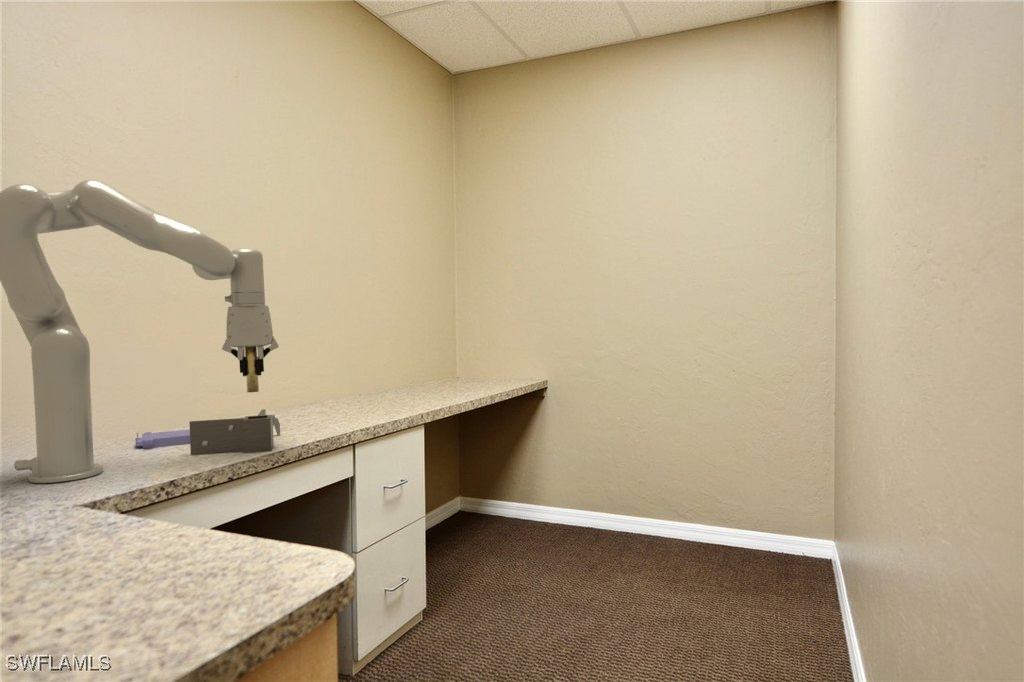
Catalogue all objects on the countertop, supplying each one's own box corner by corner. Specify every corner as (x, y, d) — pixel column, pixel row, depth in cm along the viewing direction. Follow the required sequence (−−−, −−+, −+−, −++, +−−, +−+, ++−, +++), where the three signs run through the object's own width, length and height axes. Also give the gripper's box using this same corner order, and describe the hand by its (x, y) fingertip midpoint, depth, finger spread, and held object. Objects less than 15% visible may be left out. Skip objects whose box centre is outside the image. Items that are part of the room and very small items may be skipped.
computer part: (135, 443, 165) (135, 452, 152) (135, 427, 165) (135, 436, 152) (254, 430, 181) (263, 438, 168) (253, 416, 181) (262, 423, 168)
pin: (246, 392, 148) (244, 343, 147) (248, 391, 150) (245, 343, 150) (258, 391, 149) (255, 342, 148) (259, 390, 151) (256, 342, 151)
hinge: (188, 457, 144) (186, 423, 144) (203, 442, 161) (202, 412, 161) (271, 450, 149) (270, 418, 149) (277, 437, 167) (276, 408, 167)
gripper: (209, 300, 143) (213, 378, 144) (282, 299, 147) (286, 374, 148) (215, 301, 150) (219, 376, 151) (284, 300, 155) (288, 372, 155)
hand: (252, 374), depth 149 cm, fingers closed on pin, 2 cm apart
